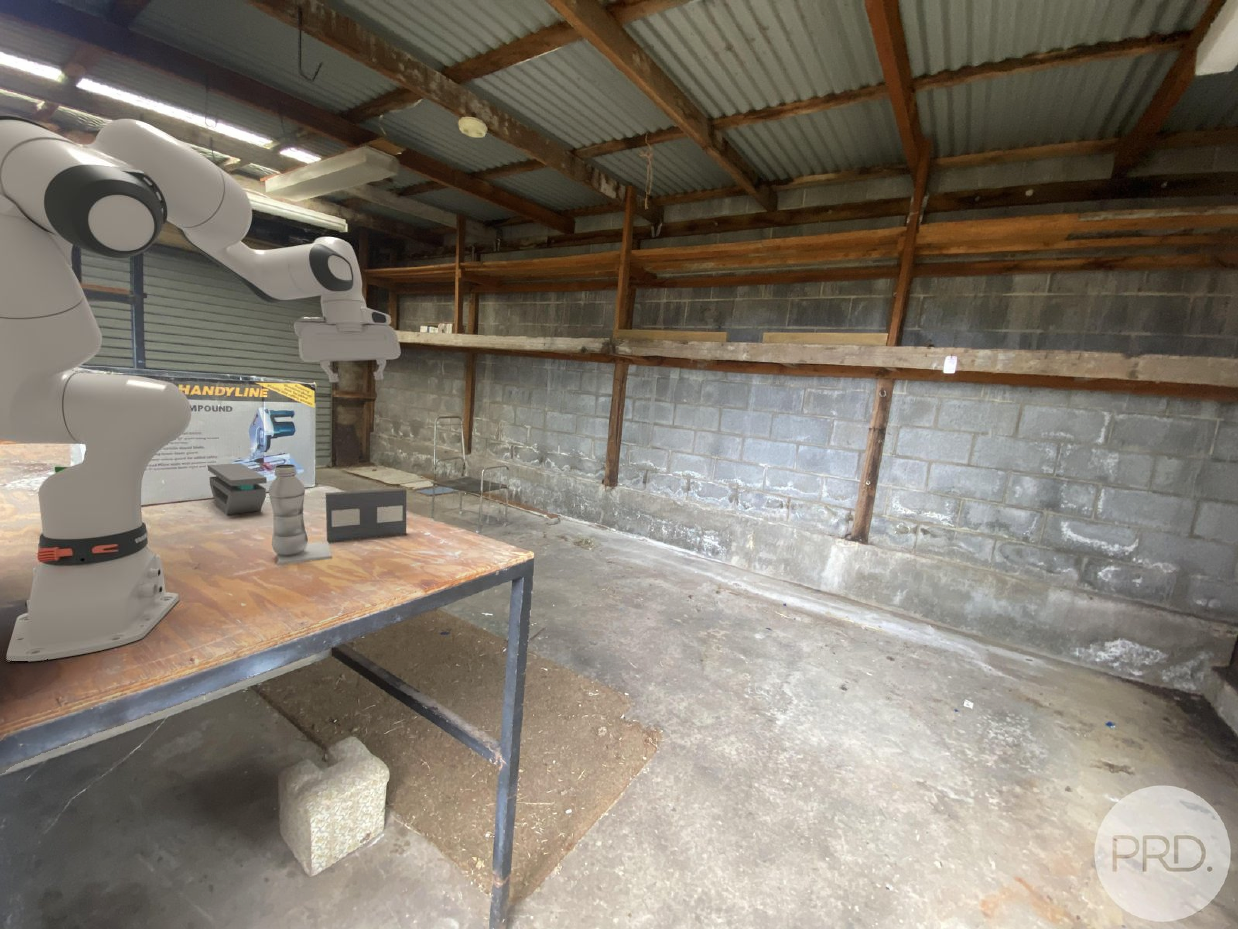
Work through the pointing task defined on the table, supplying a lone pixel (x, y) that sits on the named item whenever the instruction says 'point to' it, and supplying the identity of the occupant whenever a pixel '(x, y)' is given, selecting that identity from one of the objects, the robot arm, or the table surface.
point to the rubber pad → (308, 554)
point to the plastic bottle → (287, 511)
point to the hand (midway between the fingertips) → (357, 380)
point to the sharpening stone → (237, 488)
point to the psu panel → (365, 514)
